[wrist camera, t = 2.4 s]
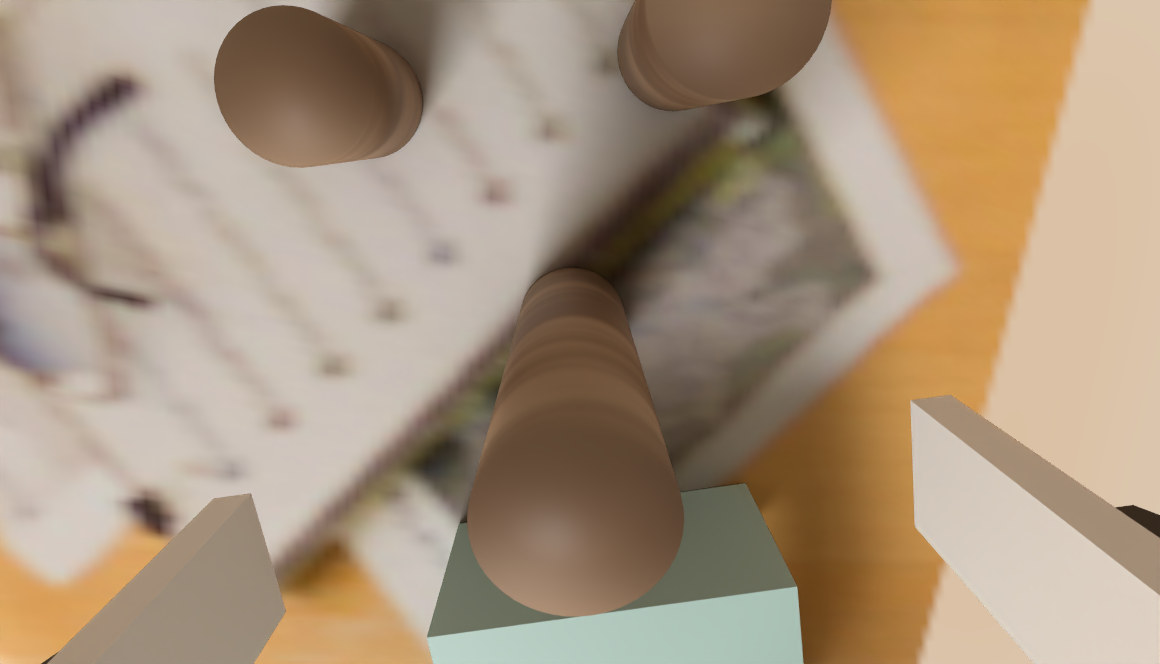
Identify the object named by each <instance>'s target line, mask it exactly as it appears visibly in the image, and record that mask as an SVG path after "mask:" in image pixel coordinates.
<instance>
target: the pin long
mask: <svg viewBox="0 0 1160 664" xmlns="http://www.w3.org/2000/svg"><path fill="white" fill-rule="evenodd" d="M467 528H468V535H469V541H470V544H471V547H472V551H473V553H474V555H475V557H476V560H477V562H478V564H479V565H480V567H481V568H482V570H483V571H484V573H485V574H486V575H487V577H488V578H489V579H490V580H491V581H492V583H493V584H495V585H496V586H497V587H498V588H499V589H500V590H501V591H502V592H503V593H505V594H506V595H508V596H509V597H511V598H512V599H513V600H515V601H517V602H519V603H521V604H523V605H525V606H527V607H529V608H532V609H535V610H537V611H541V612H544V613H548V614H553V615H560V616H576V617H579V616H591V615H596V614H602V613H606V612H609V611H612V610H615V609H618V608H621V607H623V606H625V605H627V604H629V603H631V602H633V601H635V600H636V599H638V598H640V597H641V596H643V595H644V594H645V593H646V592H648V591H649V590H650V589H652V588H653V587H654V586H655V585H656V584H657V583H658V582H659V581H660V580H661V578H662V577H663V576H664V575H665V573H666V572H667V571H668V569H669V568H670V566H671V564H672V563H673V561H674V559H675V557H676V555H677V552H678V550H679V547H680V544H681V540H682V536H683V529H684V508H683V503H682V498H681V494H680V490H679V487H678V484H677V481H676V477H675V474H674V471H673V468H672V464H671V461H670V458H669V455H668V451H667V448H666V445H665V442H664V438H663V435H662V432H661V429H660V425H659V422H658V419H657V416H656V412H655V409H654V406H653V403H652V399H651V396H650V393H649V390H648V386H647V383H646V380H645V377H644V373H643V370H642V367H641V363H640V360H639V357H638V354H637V350H636V347H635V344H634V341H633V337H632V334H631V331H630V328H629V324H628V321H627V318H626V315H625V311H624V308H623V305H622V302H621V299H620V297H619V295H618V293H617V291H616V290H615V289H614V287H613V286H612V285H611V284H610V283H609V282H608V281H607V280H606V279H605V278H603V277H602V276H600V275H599V274H597V273H595V272H593V271H590V270H587V269H583V268H573V267H570V268H562V269H557V270H555V271H552V272H550V273H548V274H546V275H544V276H543V277H541V278H540V279H539V280H537V281H536V282H535V283H534V284H533V285H532V287H531V288H530V289H529V291H528V292H527V294H526V296H525V298H524V300H523V303H522V307H521V310H520V314H519V318H518V321H517V325H516V329H515V333H514V336H513V340H512V344H511V347H510V351H509V355H508V359H507V362H506V366H505V370H504V373H503V377H502V381H501V385H500V388H499V392H498V396H497V399H496V403H495V407H494V411H493V414H492V418H491V422H490V425H489V429H488V433H487V437H486V440H485V444H484V448H483V451H482V455H481V459H480V463H479V466H478V470H477V474H476V477H475V481H474V485H473V489H472V492H471V496H470V500H469V505H468V512H467Z"/></svg>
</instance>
